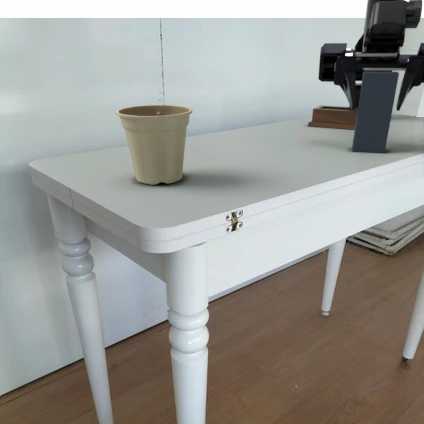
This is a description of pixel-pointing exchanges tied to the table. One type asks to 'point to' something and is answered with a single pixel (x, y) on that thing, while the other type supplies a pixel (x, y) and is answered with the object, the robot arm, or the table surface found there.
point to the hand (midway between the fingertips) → (375, 108)
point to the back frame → (334, 117)
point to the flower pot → (156, 141)
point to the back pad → (374, 111)
